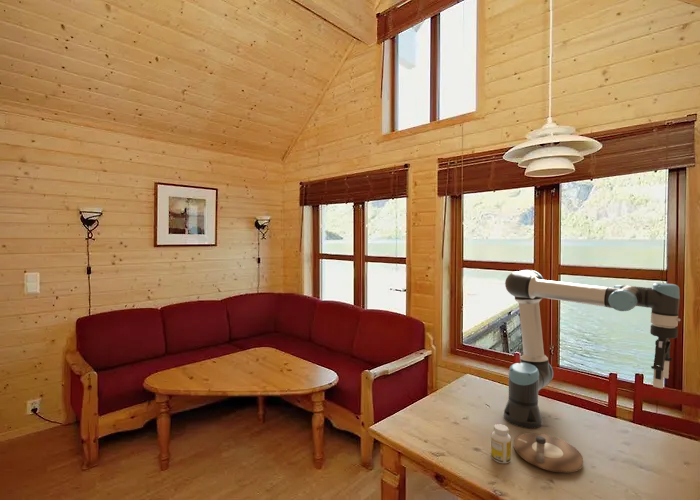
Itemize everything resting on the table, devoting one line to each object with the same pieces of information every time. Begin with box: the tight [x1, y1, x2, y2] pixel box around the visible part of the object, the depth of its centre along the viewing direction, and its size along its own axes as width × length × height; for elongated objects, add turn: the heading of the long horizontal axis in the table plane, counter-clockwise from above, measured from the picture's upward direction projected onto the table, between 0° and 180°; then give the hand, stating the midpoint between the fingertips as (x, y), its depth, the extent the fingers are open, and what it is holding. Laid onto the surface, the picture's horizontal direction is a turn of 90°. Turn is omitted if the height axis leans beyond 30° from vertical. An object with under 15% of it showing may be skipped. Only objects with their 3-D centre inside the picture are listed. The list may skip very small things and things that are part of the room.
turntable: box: [513, 432, 584, 474], centre depth 131 cm, size 22×22×9 cm
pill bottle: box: [490, 423, 512, 464], centre depth 130 cm, size 6×6×12 cm
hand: (660, 382), depth 134 cm, fingers open, 13 cm apart
